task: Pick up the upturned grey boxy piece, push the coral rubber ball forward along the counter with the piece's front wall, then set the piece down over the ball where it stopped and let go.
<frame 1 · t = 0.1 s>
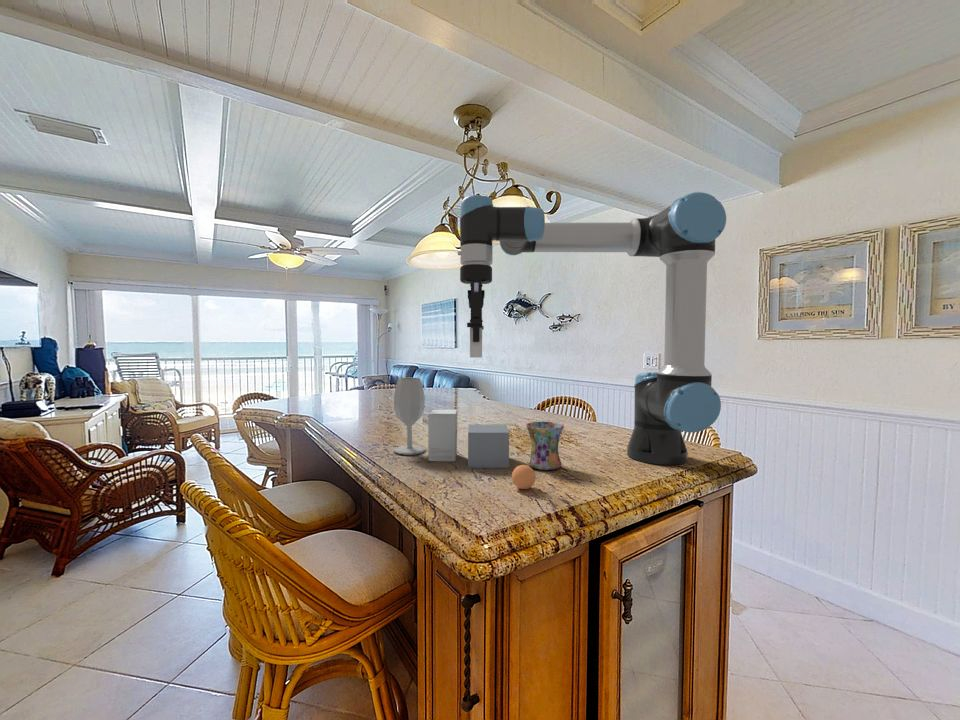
hand: (475, 356, 98), 28 cm above the table, tool pointing down, fingers open, 13 cm apart
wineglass: (409, 452, 119), on the table
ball: (523, 477, 89), on the table
mug: (543, 466, 106), on the table
supplement box: (443, 458, 113), on the table
grey boxy piece: (487, 461, 109), on the table
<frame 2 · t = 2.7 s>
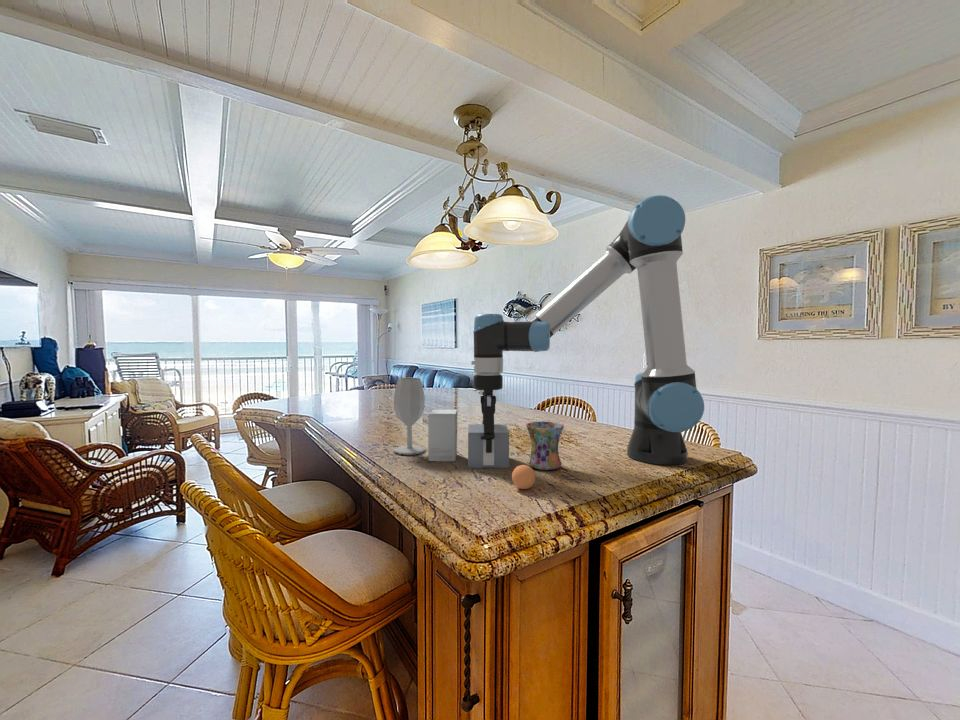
hand: (487, 458, 109), 1 cm above the table, tool pointing down, fingers closed on grey boxy piece, 10 cm apart
grey boxy piece: (488, 461, 109), on the table, touching gripper
everything else where it was.
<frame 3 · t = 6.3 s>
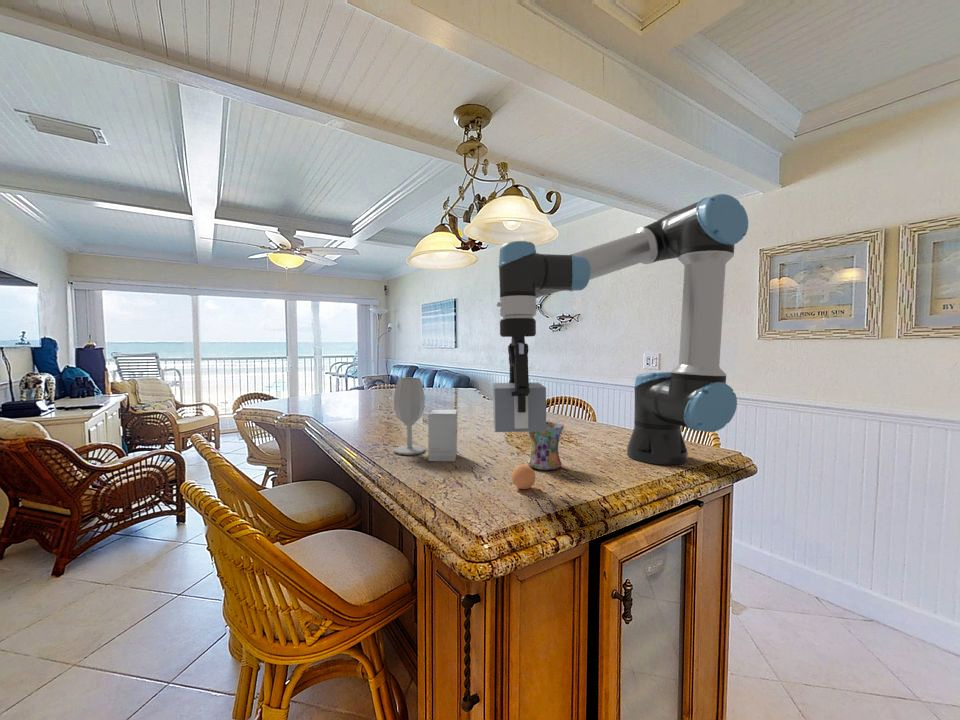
hand: (518, 422, 89), 14 cm above the table, tool pointing down, fingers closed on grey boxy piece, 10 cm apart
grey boxy piece: (518, 426, 89), point 13 cm above the table, touching gripper
everything else where it was.
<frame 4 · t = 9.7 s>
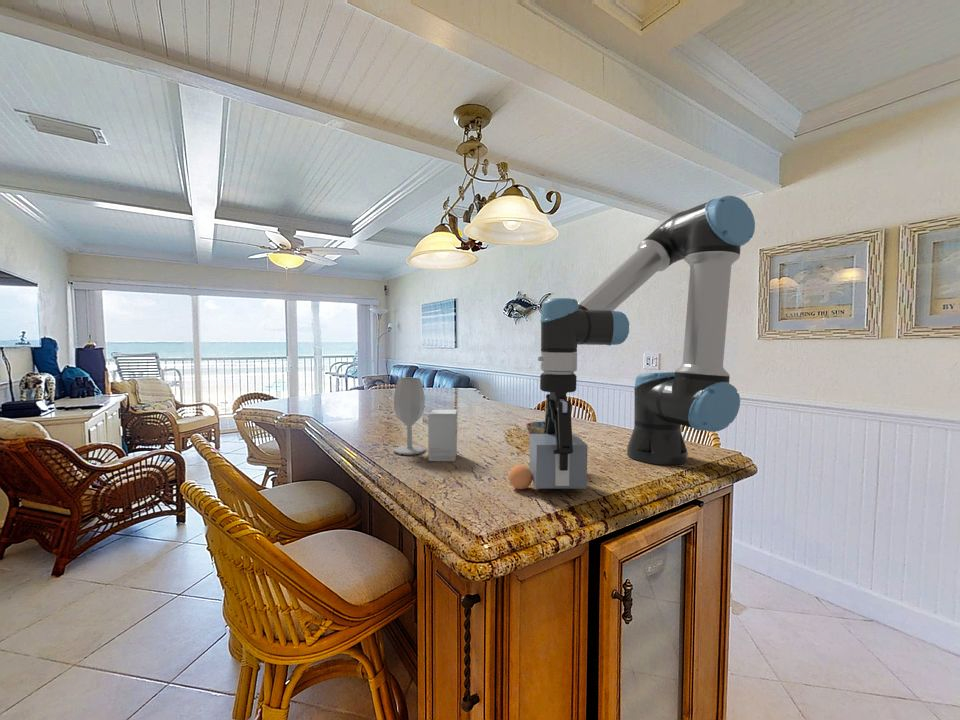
hand: (556, 476, 89), 3 cm above the table, tool pointing down, fingers closed on grey boxy piece, 10 cm apart
grey boxy piece: (556, 480, 89), point 2 cm above the table, touching gripper
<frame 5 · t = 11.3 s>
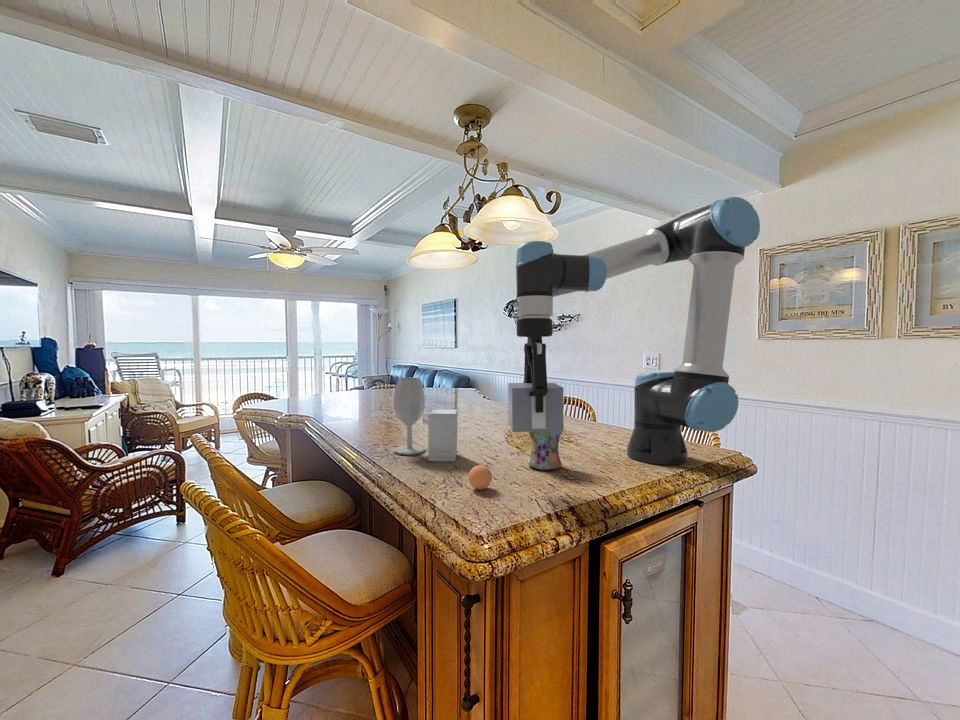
hand: (534, 422, 88), 14 cm above the table, tool pointing down, fingers closed on grey boxy piece, 10 cm apart
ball: (480, 477, 89), on the table
grey boxy piece: (534, 426, 88), point 13 cm above the table, touching gripper
everything else where it was.
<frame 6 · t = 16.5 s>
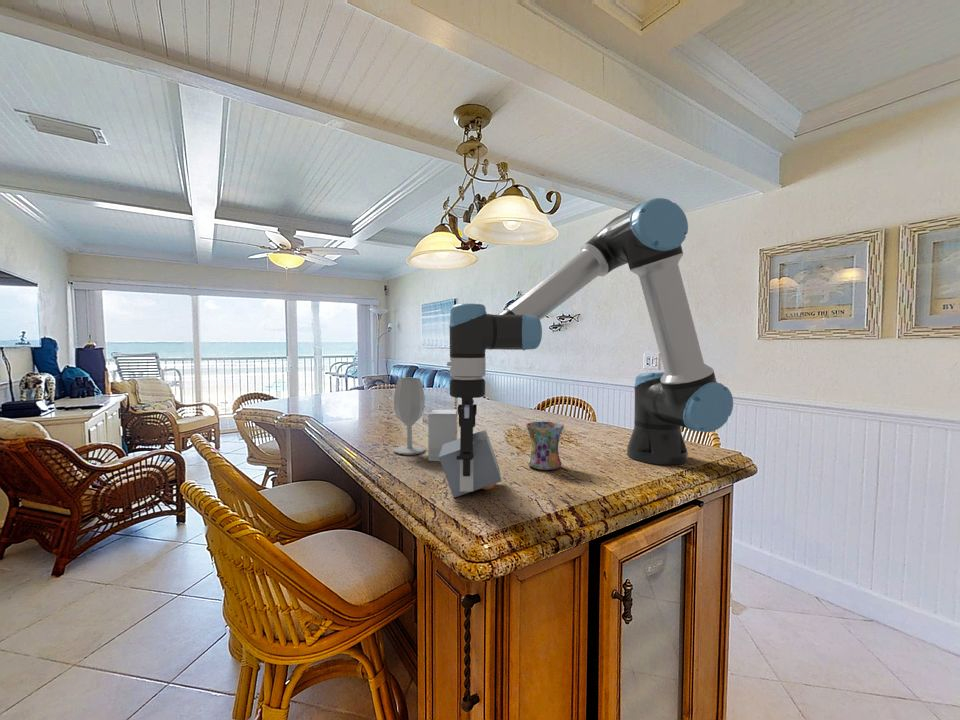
hand: (467, 481, 89), 2 cm above the table, tool pointing down, fingers closed on grey boxy piece, 10 cm apart
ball: (486, 477, 89), on the table, touching grey boxy piece
grey boxy piece: (477, 481, 89), point 2 cm above the table, tilted 19°, touching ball, gripper
everything else where it was.
when the fingers open (2 cm above the table, at t = 17.0 s): grey boxy piece drops 2 cm, on the table.
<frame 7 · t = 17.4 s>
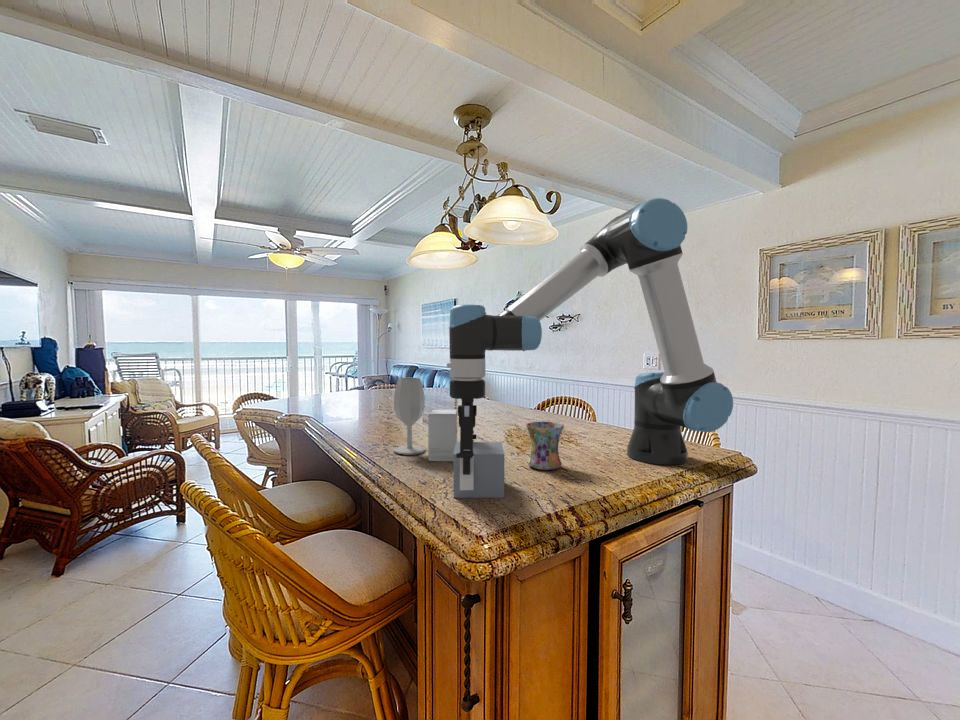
hand: (467, 478, 89), 2 cm above the table, tool pointing down, fingers open, 13 cm apart
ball: (485, 477, 89), on the table
grey boxy piece: (478, 488, 89), on the table
everything else where it was.
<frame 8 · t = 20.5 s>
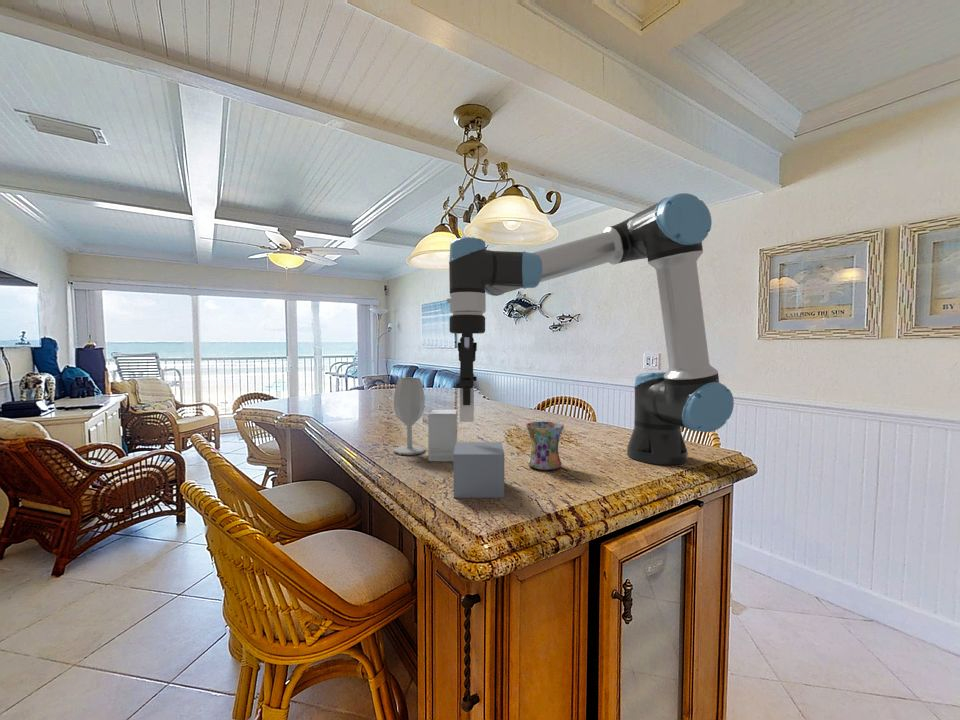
hand: (467, 415, 88), 16 cm above the table, tool pointing down, fingers open, 13 cm apart
nothing on the table moved.
at the end: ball 1.5 cm from the grey boxy piece (horizontally); grey boxy piece on the table; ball moved 8.1 cm from its start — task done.
